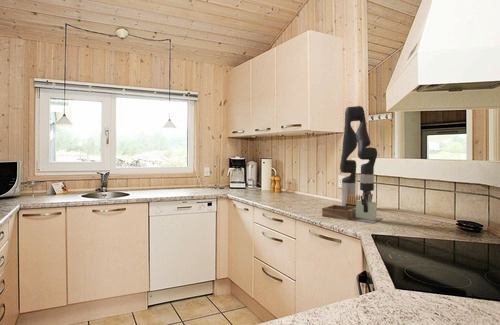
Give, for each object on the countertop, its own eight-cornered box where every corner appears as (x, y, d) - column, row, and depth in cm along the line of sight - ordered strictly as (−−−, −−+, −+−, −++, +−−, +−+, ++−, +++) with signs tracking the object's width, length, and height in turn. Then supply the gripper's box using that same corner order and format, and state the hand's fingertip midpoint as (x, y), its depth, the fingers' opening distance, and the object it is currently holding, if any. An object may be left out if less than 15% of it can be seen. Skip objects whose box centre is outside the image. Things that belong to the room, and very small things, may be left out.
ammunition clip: (361, 213, 208) (361, 194, 208) (359, 213, 207) (359, 194, 207) (347, 210, 217) (347, 192, 216) (345, 211, 216) (345, 192, 215)
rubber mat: (360, 216, 199) (360, 215, 199) (382, 218, 191) (382, 218, 191) (350, 220, 186) (350, 219, 186) (373, 223, 178) (373, 223, 178)
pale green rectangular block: (356, 216, 193) (358, 199, 193) (375, 219, 186) (376, 202, 186) (355, 217, 191) (356, 200, 191) (374, 220, 184) (375, 203, 184)
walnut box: (333, 212, 210) (333, 204, 210) (358, 215, 200) (358, 207, 200) (322, 216, 198) (322, 208, 198) (348, 219, 187) (348, 211, 187)
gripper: (364, 180, 195) (364, 209, 196) (356, 182, 185) (355, 212, 185) (377, 181, 191) (377, 210, 191) (369, 183, 180) (368, 214, 181)
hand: (366, 211), depth 188 cm, fingers closed on pale green rectangular block, 2 cm apart
